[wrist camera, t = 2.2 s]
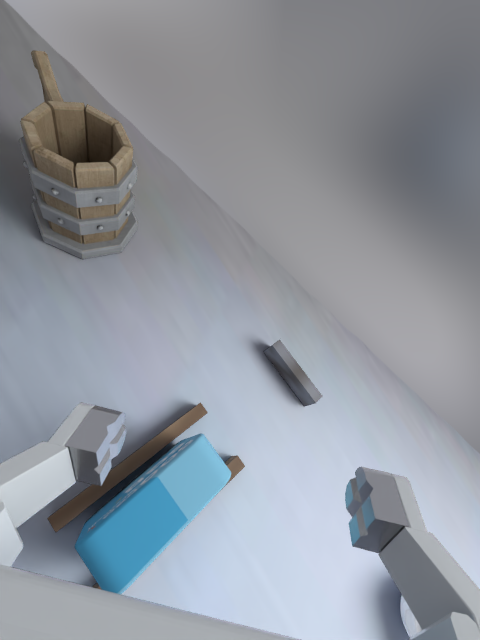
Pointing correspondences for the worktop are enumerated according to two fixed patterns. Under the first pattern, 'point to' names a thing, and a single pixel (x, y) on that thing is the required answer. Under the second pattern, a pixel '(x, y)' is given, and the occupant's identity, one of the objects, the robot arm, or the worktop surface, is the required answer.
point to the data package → (150, 513)
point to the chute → (278, 358)
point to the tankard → (78, 173)
